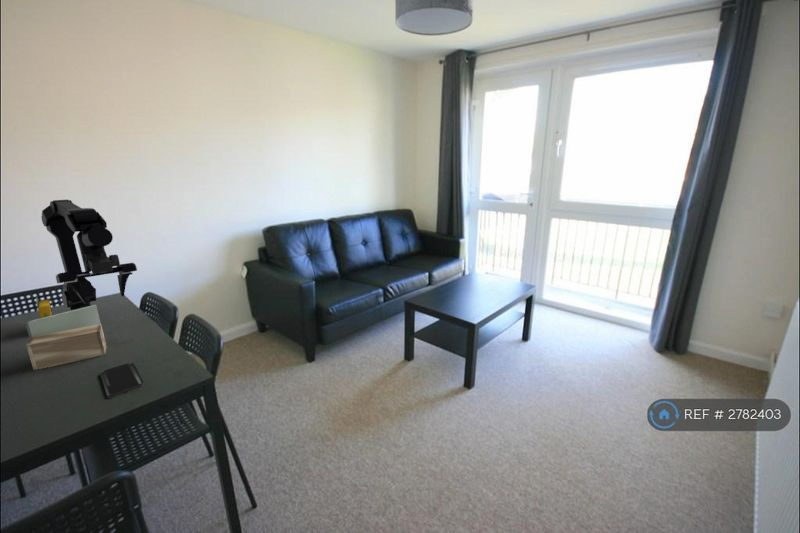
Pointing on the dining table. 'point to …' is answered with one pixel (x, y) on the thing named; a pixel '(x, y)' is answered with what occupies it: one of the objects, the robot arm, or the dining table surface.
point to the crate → (66, 346)
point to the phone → (121, 380)
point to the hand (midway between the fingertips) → (104, 300)
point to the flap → (64, 321)
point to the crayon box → (44, 308)
